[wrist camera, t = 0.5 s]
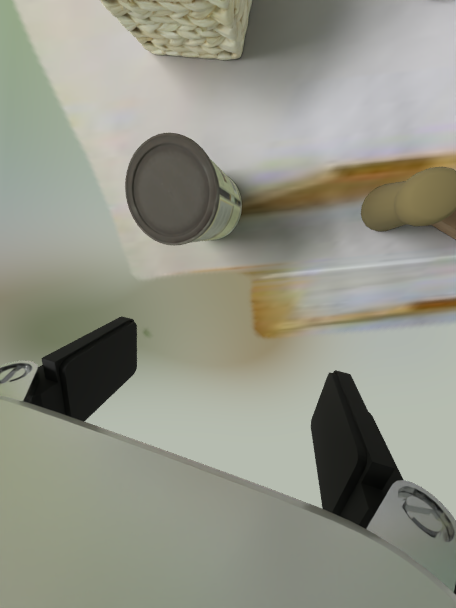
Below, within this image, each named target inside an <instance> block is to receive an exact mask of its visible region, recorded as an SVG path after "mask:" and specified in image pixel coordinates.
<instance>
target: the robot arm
mask: <svg viewBox="0 0 456 608" xmlns="http://www.w3.org/2000/svg"><path fill="white" fill-rule="evenodd" d="M42 363H43V365H42V366H40V367H38V365H37V364H36V363H35V362H32V361H15V362H10V363H7V364H3V365H1V366H0V608H456V520H455V519H454V517H453V516H452V515H451V513H450V512H449V511H448V510H447V509H446V507H444V505H443V504H442V503H441V502H440V501H439V500H438V499H437V498H435V497H434V496H433V495H432V494H430V493H429V492H428V491H426V490H425V489H423V488H422V487H420V486H418V485H416V484H414V483H412V482H409V481H404V480H403V478H402V476H401V474H400V472H399V470H398V468H397V466H396V464H395V462H394V460H393V458H392V456H391V454H390V451H389V450H388V448H387V445H386V443H385V441H384V439H383V437H382V435H381V433H380V431H379V429H378V427H377V425H376V423H375V421H374V419H373V417H372V415H371V414H370V413H369V412H368V410H367V409H366V406H365V404H364V402H363V400H362V398H361V396H360V394H359V391H358V389H357V387H356V385H355V383H354V381H353V379H352V377H351V375H350V374H347V373H343V372H340V371H334V372H333V373H329V374H328V377H327V379H326V382H325V385H324V387H323V390H322V393H321V395H320V398H319V401H318V403H317V406H316V409H315V411H314V414H313V417H312V420H311V431H312V438H313V445H314V452H315V459H316V465H317V472H318V480H319V486H320V493H321V500H322V507H323V509H321V508H319V507H316V506H314V505H311V504H308V503H306V502H303V501H301V500H298V499H296V498H293V497H290V496H288V495H285V494H283V493H280V492H277V491H275V490H272V489H269V488H267V487H264V486H261V485H259V484H256V483H253V482H250V481H248V480H245V479H242V478H239V477H237V476H234V475H231V474H229V473H226V472H223V471H220V470H218V469H215V468H212V467H209V466H207V465H204V464H201V463H198V462H196V461H193V460H190V459H187V458H185V457H182V456H179V455H176V454H174V453H171V452H168V451H165V450H162V449H160V448H157V447H154V446H151V445H148V444H146V443H143V442H140V441H137V440H135V439H132V438H129V437H126V436H123V435H120V434H118V433H115V432H112V431H109V430H106V429H103V428H101V427H98V426H95V425H92V424H89V423H86V422H84V421H85V420H86V419H87V418H88V417H89V416H90V415H91V414H93V413H94V412H95V411H96V410H97V409H98V408H99V407H100V406H101V405H102V404H103V403H104V402H105V401H106V400H107V399H108V398H109V397H110V396H111V395H112V394H114V393H115V392H116V391H117V390H118V389H119V388H120V387H121V386H122V385H123V384H124V383H125V382H126V381H127V380H128V379H129V378H130V377H131V376H132V375H133V374H134V373H135V371H136V368H137V325H136V323H134V320H133V319H130V318H125V317H119V318H118V319H116V320H114V321H112V322H110V323H108V324H106V325H104V326H102V327H100V328H98V329H97V330H94V331H93V332H91V333H89V334H87V335H85V336H83V337H81V338H79V339H78V340H75V341H74V342H72V343H70V344H68V345H66V346H64V347H62V348H60V349H58V350H57V351H55V352H53V353H51V354H49V355H47V356H45V357H43V358H42Z"/></svg>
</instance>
